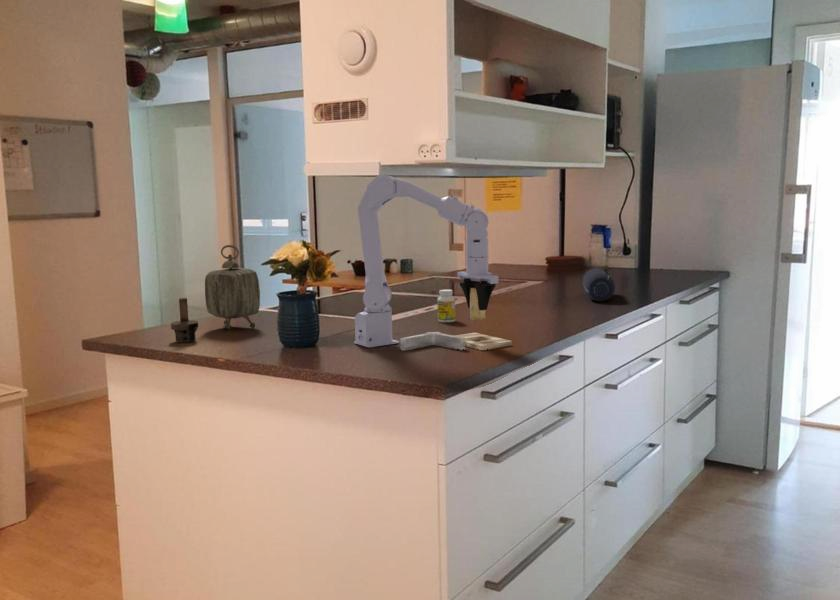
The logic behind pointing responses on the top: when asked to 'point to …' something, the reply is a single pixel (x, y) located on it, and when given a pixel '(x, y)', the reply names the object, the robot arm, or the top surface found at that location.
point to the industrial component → (184, 324)
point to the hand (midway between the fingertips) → (477, 308)
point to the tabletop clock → (232, 291)
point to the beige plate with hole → (484, 341)
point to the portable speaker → (598, 284)
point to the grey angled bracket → (432, 341)
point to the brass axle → (475, 306)
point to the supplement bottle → (446, 306)
